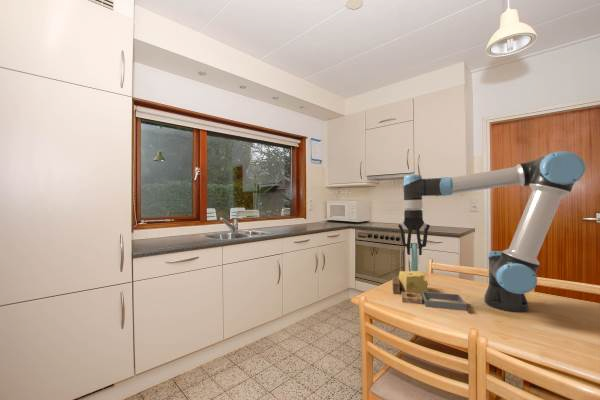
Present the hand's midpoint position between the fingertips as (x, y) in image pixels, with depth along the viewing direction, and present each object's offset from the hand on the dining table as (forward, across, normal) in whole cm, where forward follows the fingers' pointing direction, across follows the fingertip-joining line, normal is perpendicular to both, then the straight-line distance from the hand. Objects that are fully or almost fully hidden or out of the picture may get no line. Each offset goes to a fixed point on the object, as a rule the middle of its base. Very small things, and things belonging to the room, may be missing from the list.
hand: (414, 262), depth 121 cm
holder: (+18, +2, 0) cm, 18 cm away
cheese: (+18, 0, -12) cm, 22 cm away
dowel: (+4, 0, 0) cm, 4 cm away
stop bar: (+18, +8, -12) cm, 23 cm away
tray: (+18, -11, +1) cm, 21 cm away
